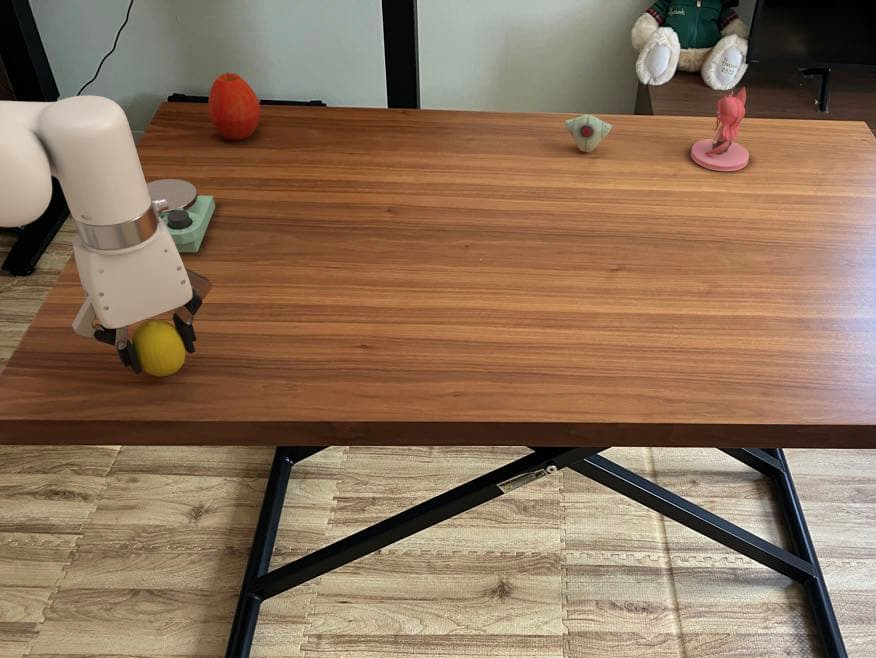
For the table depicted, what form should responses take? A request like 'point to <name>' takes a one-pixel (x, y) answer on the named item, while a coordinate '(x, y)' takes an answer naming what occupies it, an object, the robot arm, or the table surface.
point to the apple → (233, 107)
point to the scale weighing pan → (173, 194)
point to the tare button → (179, 220)
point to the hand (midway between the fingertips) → (161, 355)
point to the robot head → (587, 131)
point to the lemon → (158, 347)
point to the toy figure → (724, 138)
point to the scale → (193, 225)
